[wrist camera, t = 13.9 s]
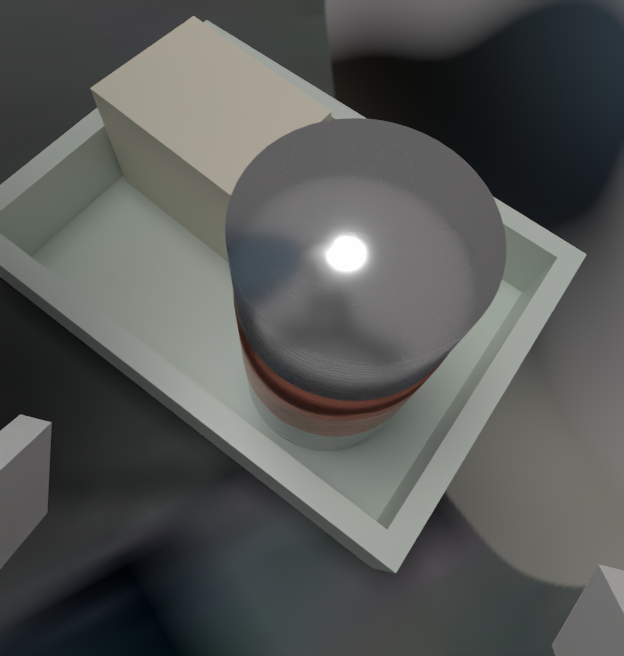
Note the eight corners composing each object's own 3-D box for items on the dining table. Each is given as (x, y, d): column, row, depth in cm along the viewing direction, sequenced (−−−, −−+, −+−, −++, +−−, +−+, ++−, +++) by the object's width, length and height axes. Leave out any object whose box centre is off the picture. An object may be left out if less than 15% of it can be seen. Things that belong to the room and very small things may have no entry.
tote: (0, 276, 26) (-51, 225, 22) (214, 89, 31) (206, 19, 27) (371, 567, 22) (396, 573, 18) (538, 297, 28) (586, 254, 24)
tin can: (214, 388, 24) (161, 248, 13) (307, 276, 26) (332, 76, 15) (344, 485, 22) (414, 427, 11) (430, 358, 25) (555, 208, 14)
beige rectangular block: (125, 180, 27) (90, 88, 22) (207, 115, 29) (193, 15, 24) (241, 272, 26) (234, 198, 20) (318, 197, 28) (331, 111, 22)
